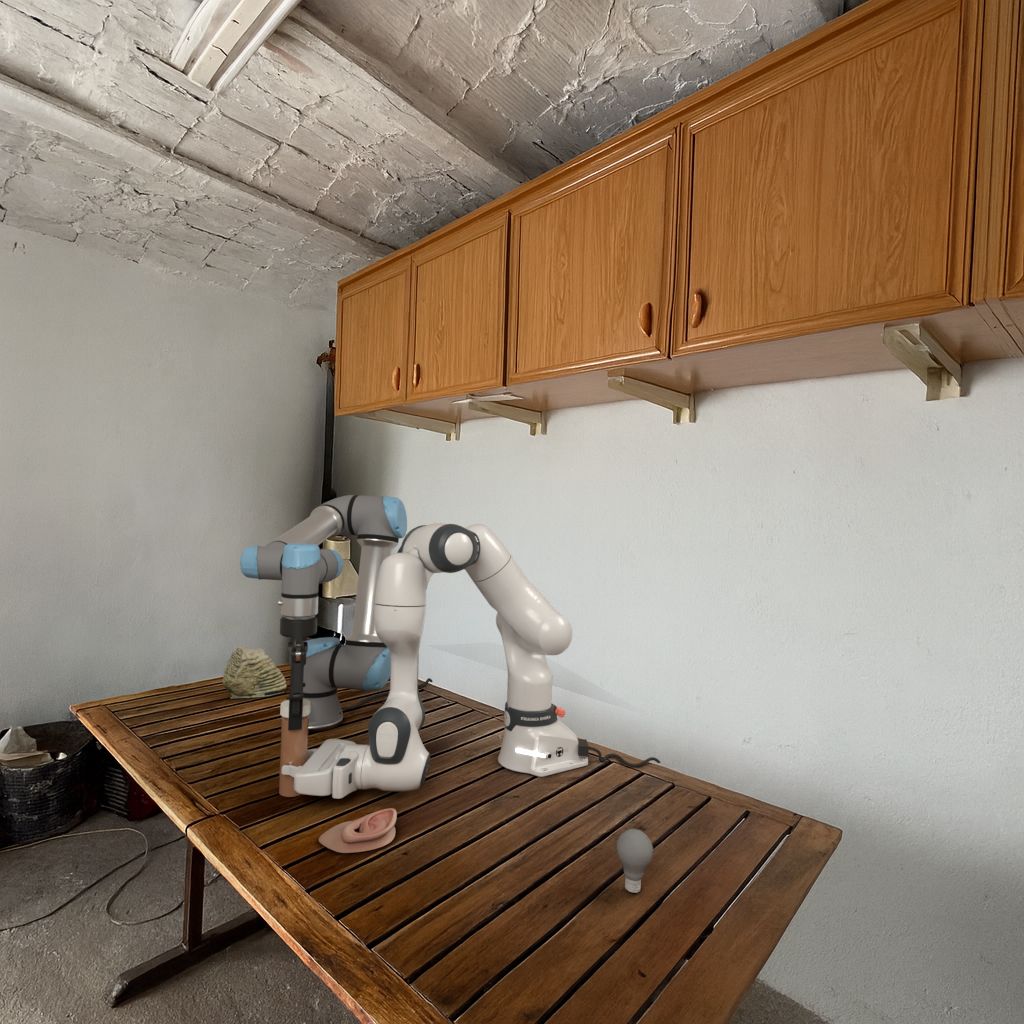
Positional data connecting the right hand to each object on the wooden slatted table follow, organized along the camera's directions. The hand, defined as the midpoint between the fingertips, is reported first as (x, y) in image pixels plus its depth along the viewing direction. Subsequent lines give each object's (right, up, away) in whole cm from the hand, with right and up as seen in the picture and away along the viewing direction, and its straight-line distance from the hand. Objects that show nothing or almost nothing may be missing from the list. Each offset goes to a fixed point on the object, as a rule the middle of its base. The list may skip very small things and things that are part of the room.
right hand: (289, 762), depth 136 cm
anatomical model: (+19, -7, -17) cm, 27 cm away
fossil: (-33, -4, +62) cm, 71 cm away
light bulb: (+68, -10, -30) cm, 75 cm away
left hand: (+1, +8, 0) cm, 8 cm away
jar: (+1, -6, 0) cm, 6 cm away
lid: (+1, +12, 0) cm, 13 cm away
